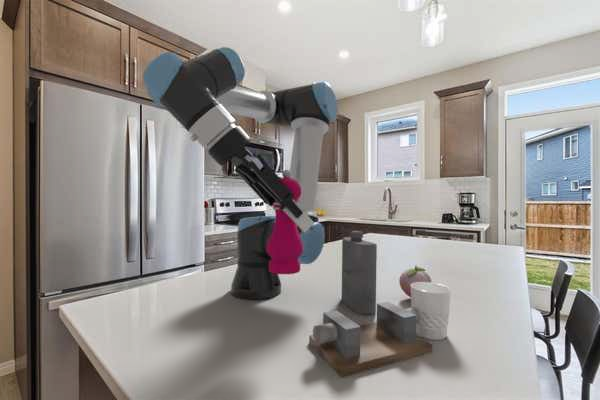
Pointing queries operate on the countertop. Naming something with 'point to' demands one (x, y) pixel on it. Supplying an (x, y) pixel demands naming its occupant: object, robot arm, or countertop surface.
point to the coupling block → (368, 339)
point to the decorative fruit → (412, 278)
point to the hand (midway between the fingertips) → (302, 225)
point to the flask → (359, 273)
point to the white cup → (431, 309)
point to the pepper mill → (285, 235)
